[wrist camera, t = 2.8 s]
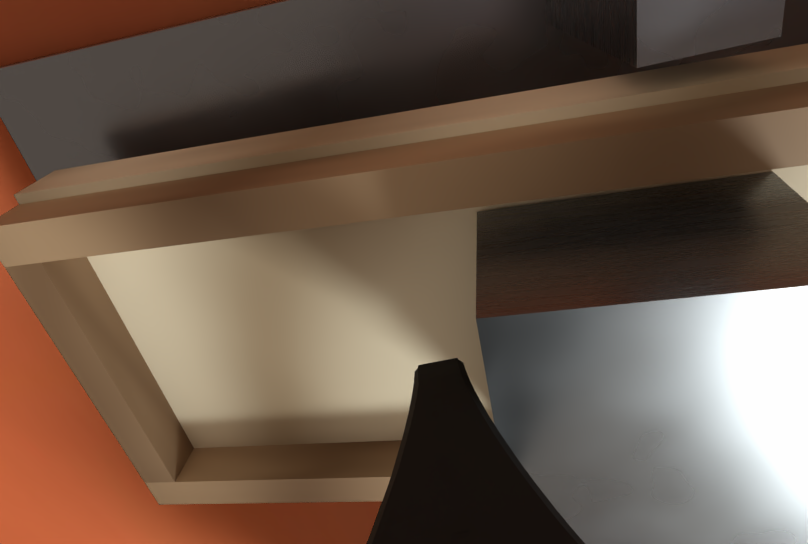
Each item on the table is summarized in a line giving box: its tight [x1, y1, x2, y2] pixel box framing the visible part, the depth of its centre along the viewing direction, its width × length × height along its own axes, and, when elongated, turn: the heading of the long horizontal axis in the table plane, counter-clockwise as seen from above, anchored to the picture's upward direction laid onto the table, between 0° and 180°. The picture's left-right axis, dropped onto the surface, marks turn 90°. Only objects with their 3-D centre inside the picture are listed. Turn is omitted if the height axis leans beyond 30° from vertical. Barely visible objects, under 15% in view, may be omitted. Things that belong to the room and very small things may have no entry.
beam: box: [0, 43, 808, 505], centre depth 10 cm, size 24×8×2 cm, turn 102°
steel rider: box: [476, 171, 808, 544], centre depth 9 cm, size 4×5×3 cm
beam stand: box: [0, 0, 808, 181], centre depth 12 cm, size 26×13×5 cm, turn 102°
